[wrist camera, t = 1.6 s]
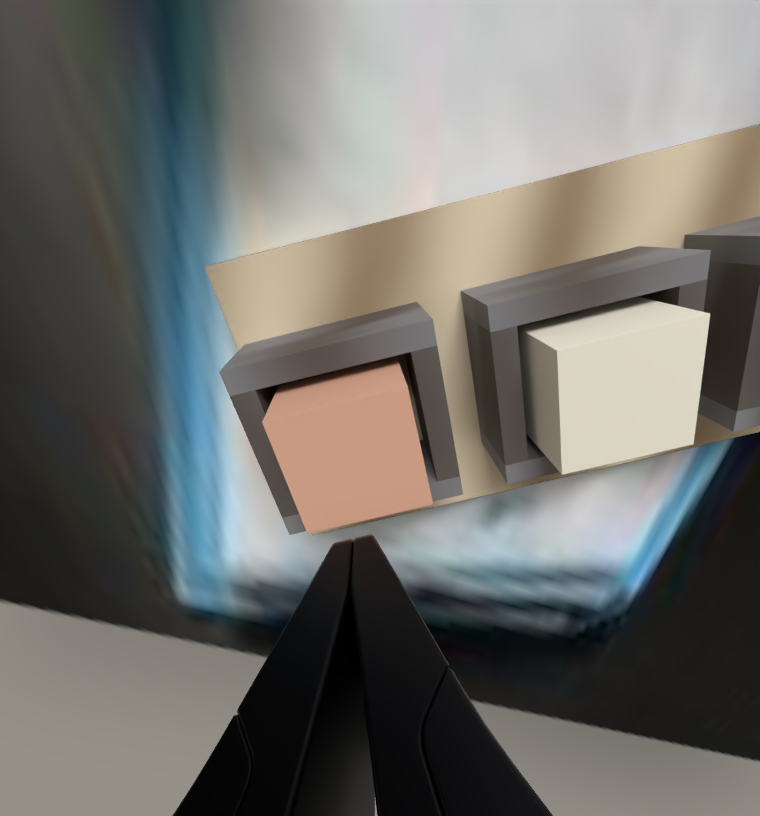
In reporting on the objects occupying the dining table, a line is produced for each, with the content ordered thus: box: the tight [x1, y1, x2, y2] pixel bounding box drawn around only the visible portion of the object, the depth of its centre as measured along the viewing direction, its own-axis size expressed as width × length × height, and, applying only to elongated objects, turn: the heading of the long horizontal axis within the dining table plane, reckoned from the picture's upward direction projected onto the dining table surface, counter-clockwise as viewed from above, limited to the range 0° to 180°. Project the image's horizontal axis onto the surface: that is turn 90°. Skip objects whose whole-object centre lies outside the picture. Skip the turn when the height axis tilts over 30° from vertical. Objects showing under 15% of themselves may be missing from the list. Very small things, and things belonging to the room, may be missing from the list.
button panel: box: [205, 124, 760, 535], centre depth 14 cm, size 23×12×4 cm, turn 103°
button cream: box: [517, 297, 710, 475], centre depth 12 cm, size 4×4×3 cm
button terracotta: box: [262, 356, 433, 534], centre depth 13 cm, size 4×4×3 cm
